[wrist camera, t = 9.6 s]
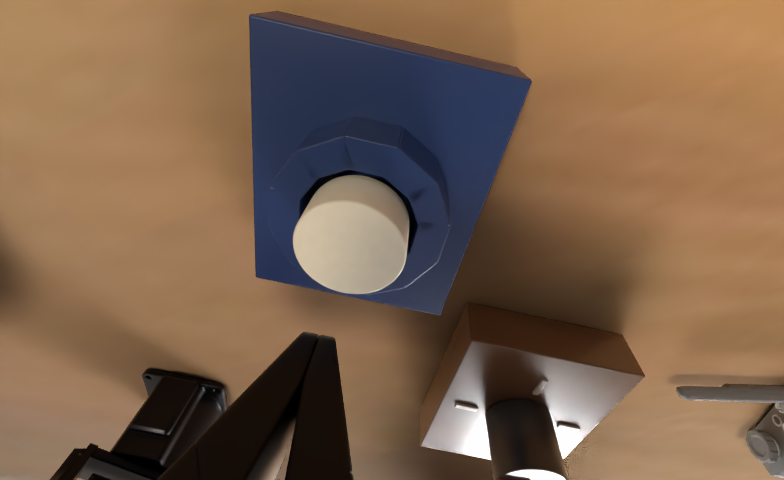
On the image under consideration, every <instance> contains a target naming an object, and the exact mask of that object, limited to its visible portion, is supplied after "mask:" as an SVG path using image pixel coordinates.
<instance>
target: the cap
mask: <svg viewBox="0 0 784 480" xmlns="http://www.w3.org/2000/svg"><path fill="white" fill-rule="evenodd" d="M408 236H409V215H408V211H407V209H406V206H405V204H404V203H403V201H402V199H401V198H400V197H399V196H398V194H397V193H396V192H395V191H394V190H392V189H391V188H390V187H389V186H387V185H386V184H384V183H382V182H381V181H378V180H376V179H374V178H370V177H367V176H361V175H347V176H341V177H337V178H335V179H332V180H330V181H328V182H326V183H325V184H324V185H322V186H321V187H320V188H319V189H318V190H317V191H316V192H315V194H314V195H313V197H312V199H311V200H310V202H309V204H308V205H307V207H306V209H305V211H304V212H303V214H302V216H301V217H300V219H299V221H298V223H297V225H296V227H295V230H294V234H293V247H294V252H295V255H296V258H297V260H298V262H299V264H300V265H301V267H302V268H303V269H304V271H305V272H306V273H307V274H308V275H309V276H310V277H311V278H313V279H314V280H315V281H317V282H318V283H320V284H321V285H323V286H325V287H327V288H329V289H332V290H335V291H338V292H342V293H348V294H366V293H371V292H375V291H378V290H380V289H383V288H385V287H386V286H388V285H389V284H391V283H392V282H393V281H394V280H395V279H396V278H397V277H398V276H399V275H400V273H401V272H402V270H403V268H404V265H405V262H406V257H407V247H408Z"/></svg>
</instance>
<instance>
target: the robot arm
mask: <svg viewBox="0 0 784 480" xmlns="http://www.w3.org/2000/svg"><path fill="white" fill-rule="evenodd" d="M142 377H143V380H144V383H145V386H146V389H147V392H148V395H149V397H148V398H147V400H146V401H145V402H144V404H143V405H142V407H141V408H140V410H139V411H138V412H137V414H136V415H135V417H134V418H133V420H132V421H131V422H130V424H129V425H128V427H127V428H126V430H125V431H124V432H123V434H122V435H121V437H120V438H119V440H118V441H117V442H116V444H115V445H114V447H113V448H112V450H111V451H110V452H108V451H106V450H103V449H100V448H98V446H97V445H94V444H92V443H90V445H89V446H88V447H87V448H86V449H85V448H84V449H74V450H73V451H72V453H71V454H70V455H69V456H68V458H67V459H66V460H65V461H64V463H63V464H62V465H61V467H60V468H59V469H58V470H57V472H56V473H55V474H54V475H53V476H52V478H51V479H50V480H77V478H78V477H79V478H81V479H84V480H276V478H277V475H278V473H279V470H280V468H281V465H282V463H283V460H284V458H285V455H286V453H287V450H288V448H289V445H290V443H291V440H292V444H291V450H290V455H289V461H288V466H287V472H286V477H285V480H354V479H353V474H352V464H351V457H350V449H349V441H348V433H347V426H346V418H345V410H344V403H343V395H342V387H341V379H340V372H339V364H338V356H337V349H336V341H335V338H333V337H329V336H324V335H321V336H318V335H317V334H314V333H309V332H303V333H301V334H300V335H299V336H298V337H297V338H296V339H295V340H294V341H293V342H292V343H291V344H290V346H289V347H288V348H287V349H286V350H285V351H284V352H283V353H282V354H281V355H280V356H279V357H278V358H277V359H276V360H275V361H274V362H273V363H272V364H271V365H270V366H269V367H268V368H267V369H266V370H265V371H264V372H263V373H262V374H261V375H260V376H259V377H258V378H257V379H256V380H255V381H254V382H253V383H252V384H251V385H250V386H249V387H248V388H247V389H246V390H245V391H244V392H243V393H242V394H241V395H240V397H239V398H238V399H237V400H236V401H235V402H234V403H233V404H232V405H231V406H230V407H229V408H228V406H227V397H226V388H225V386H224V385H223V384H221V383H217V382H212V381H207V380H202V379H197V378H192V377H187V376H182V375H176V374H171V373H166V372H161V371H156V370H151V369H147V370H146V371H145V372H144V373H143V374H142ZM292 438H293V439H292Z"/></svg>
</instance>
